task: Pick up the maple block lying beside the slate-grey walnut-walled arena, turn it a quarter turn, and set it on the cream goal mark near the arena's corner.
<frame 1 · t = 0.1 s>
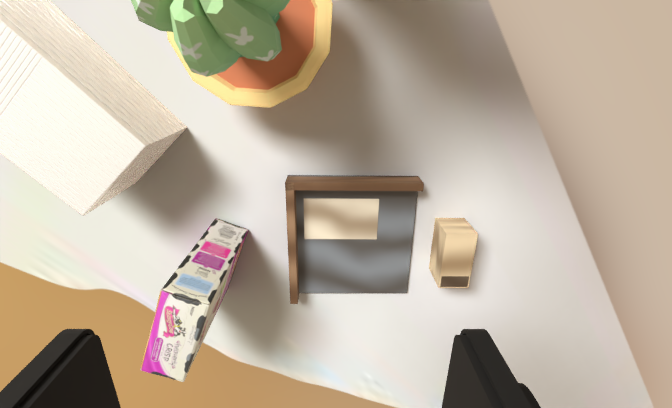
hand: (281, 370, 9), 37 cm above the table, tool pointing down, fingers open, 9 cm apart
stack of papers: (48, 55, 40), on the table
candy bar box: (221, 254, 50), on the table
potted cactus: (264, 29, 39), on the table
corner arena: (351, 237, 49), on the table
maple block: (445, 243, 50), on the table
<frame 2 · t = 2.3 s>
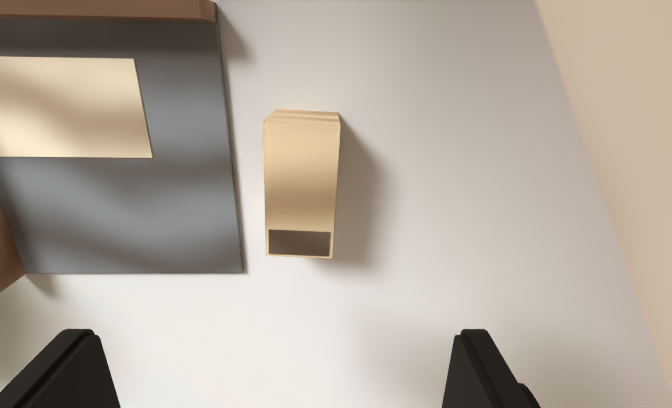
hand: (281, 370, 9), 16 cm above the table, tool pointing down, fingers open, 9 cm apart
corner arena: (103, 154, 23), on the table
maple block: (305, 169, 24), on the table
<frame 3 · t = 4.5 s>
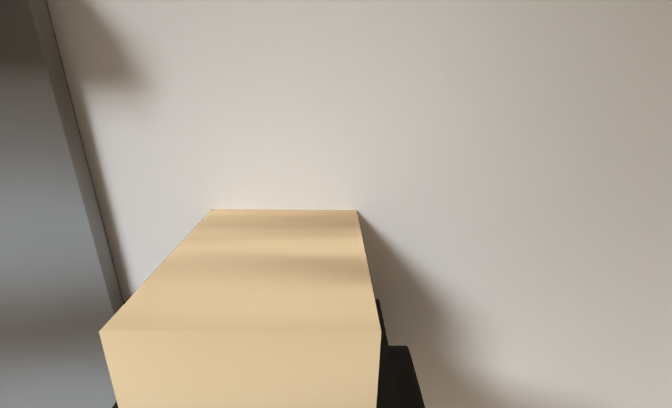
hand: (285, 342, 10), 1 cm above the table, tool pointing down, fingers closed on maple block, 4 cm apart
maple block: (289, 328, 11), on the table, touching gripper
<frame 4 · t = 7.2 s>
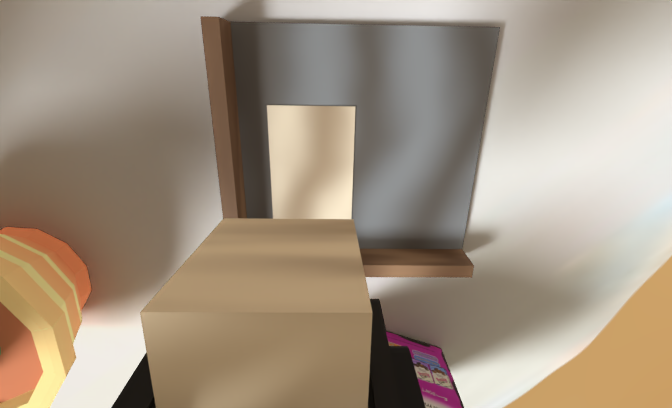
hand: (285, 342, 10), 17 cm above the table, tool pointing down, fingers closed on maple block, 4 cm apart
candy bar box: (378, 348, 33), on the table
potted cactus: (37, 274, 29), on the table
corner arena: (353, 154, 26), on the table
maple block: (291, 329, 12), point 16 cm above the table, tilted 5°, touching gripper
when the fingers open (3 cm above the table, at t = 10.0 s): maple block drops 1 cm, resting on corner arena.
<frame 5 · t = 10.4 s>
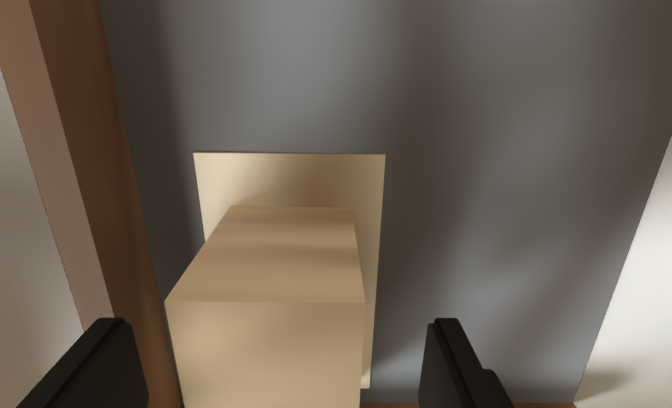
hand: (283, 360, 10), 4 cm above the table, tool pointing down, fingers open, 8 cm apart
corner arena: (376, 244, 13), on the table
maple block: (294, 305, 13), point 1 cm above the table, touching corner arena
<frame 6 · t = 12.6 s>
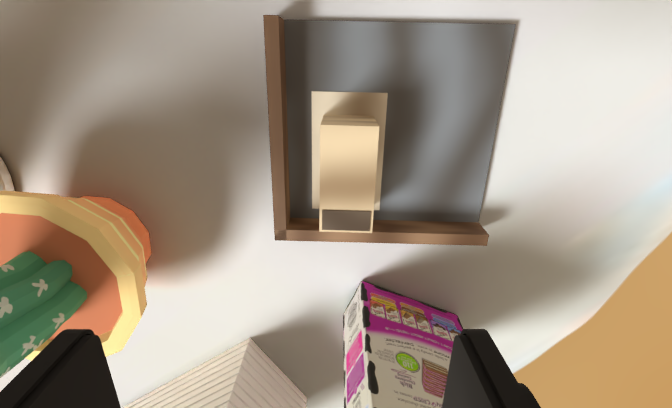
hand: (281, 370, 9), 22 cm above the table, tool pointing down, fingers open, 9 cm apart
candy bar box: (399, 313, 37), on the table
potted cactus: (105, 238, 34), on the table
corner arena: (383, 136, 29), on the table
maple block: (346, 163, 30), point 1 cm above the table, touching corner arena
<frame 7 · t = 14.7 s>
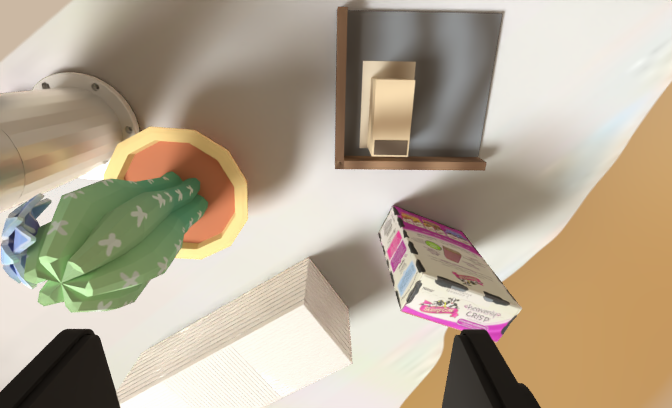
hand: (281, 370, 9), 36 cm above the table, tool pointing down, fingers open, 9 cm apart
stack of papers: (243, 329, 55), on the table
candy bar box: (420, 232, 49), on the table
potted cactus: (202, 175, 45), on the table
corner arena: (411, 93, 42), on the table
maple block: (385, 113, 42), point 1 cm above the table, touching corner arena
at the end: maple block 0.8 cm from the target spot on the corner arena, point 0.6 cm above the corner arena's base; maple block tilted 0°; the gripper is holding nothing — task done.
